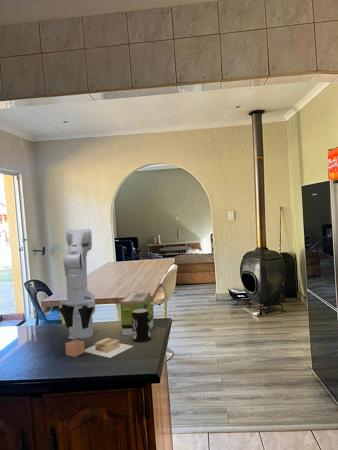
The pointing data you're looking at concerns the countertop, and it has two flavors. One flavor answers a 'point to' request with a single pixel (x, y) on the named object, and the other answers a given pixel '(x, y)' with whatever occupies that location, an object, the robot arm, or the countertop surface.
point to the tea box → (131, 304)
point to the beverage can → (140, 325)
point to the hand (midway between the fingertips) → (77, 327)
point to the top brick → (75, 348)
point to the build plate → (109, 354)
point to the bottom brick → (107, 345)
